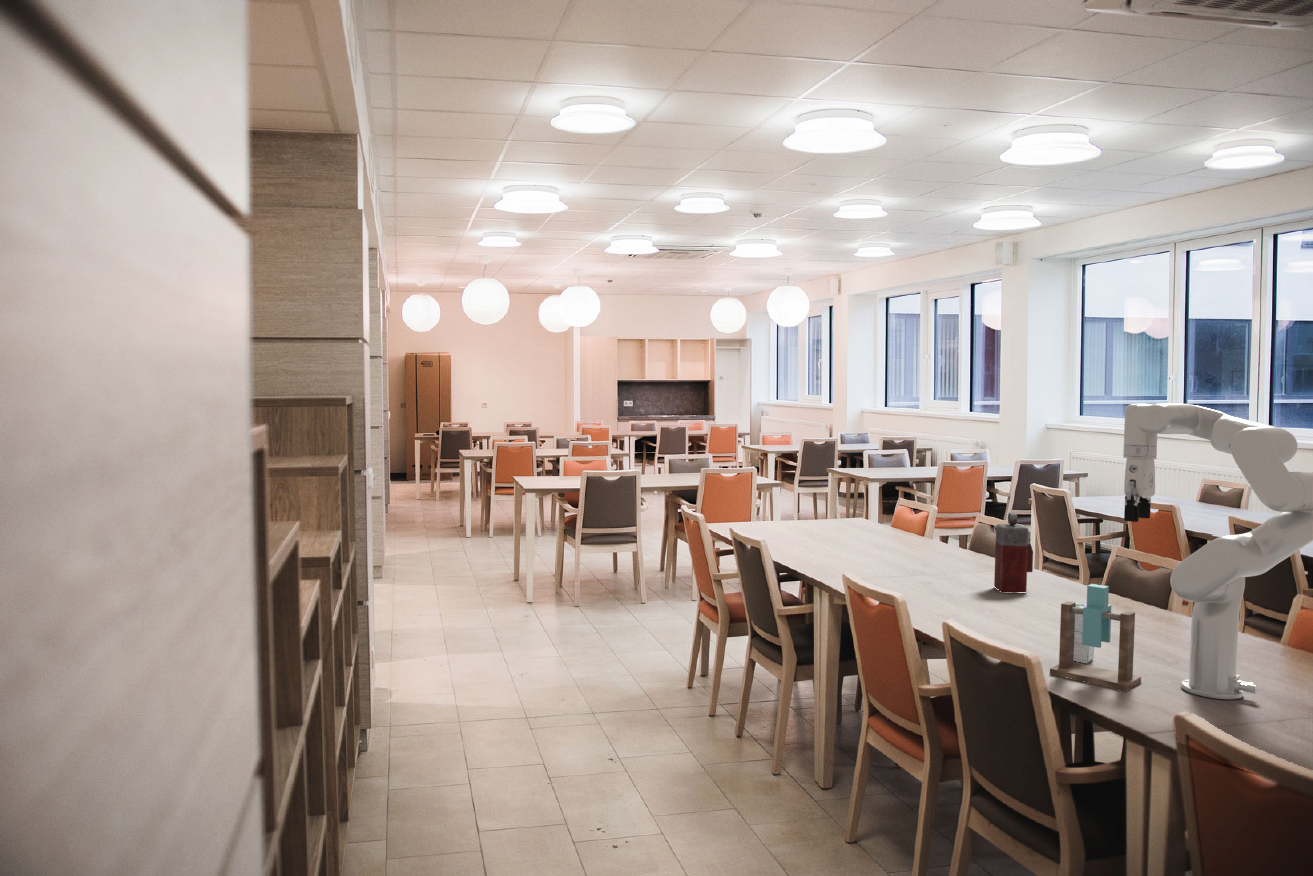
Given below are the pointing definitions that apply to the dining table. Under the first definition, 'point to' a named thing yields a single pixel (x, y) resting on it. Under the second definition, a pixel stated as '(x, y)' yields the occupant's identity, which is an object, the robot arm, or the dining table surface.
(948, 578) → the dining table surface
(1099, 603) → the teal block figure
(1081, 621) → the syrup box
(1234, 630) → the robot arm
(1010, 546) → the dark red lidded canister
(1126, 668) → the hanger rack
